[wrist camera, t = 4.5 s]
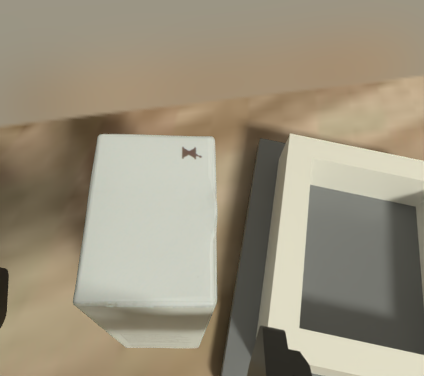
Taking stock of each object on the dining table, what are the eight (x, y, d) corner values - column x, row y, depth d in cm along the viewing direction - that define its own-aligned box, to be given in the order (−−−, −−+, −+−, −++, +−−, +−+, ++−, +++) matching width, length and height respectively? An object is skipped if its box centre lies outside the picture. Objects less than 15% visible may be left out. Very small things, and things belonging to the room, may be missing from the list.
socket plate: (218, 386, 20) (226, 383, 17) (257, 146, 28) (269, 110, 25) (479, 443, 20) (543, 453, 17) (446, 184, 28) (484, 154, 24)
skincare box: (131, 246, 24) (96, 126, 13) (200, 247, 24) (219, 131, 14) (122, 352, 21) (66, 306, 10) (200, 351, 21) (223, 307, 11)
